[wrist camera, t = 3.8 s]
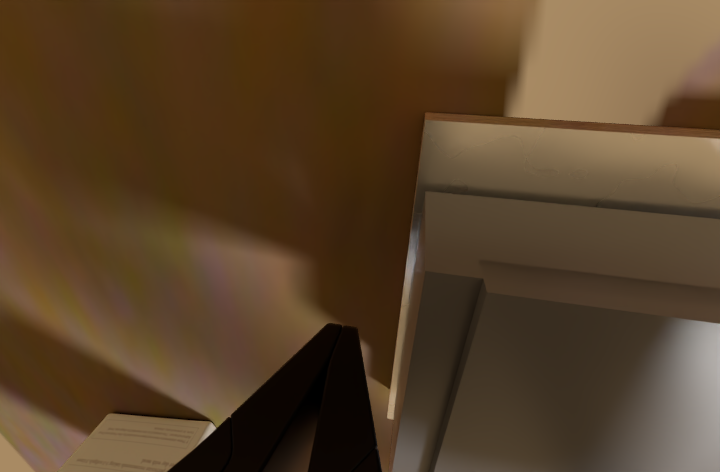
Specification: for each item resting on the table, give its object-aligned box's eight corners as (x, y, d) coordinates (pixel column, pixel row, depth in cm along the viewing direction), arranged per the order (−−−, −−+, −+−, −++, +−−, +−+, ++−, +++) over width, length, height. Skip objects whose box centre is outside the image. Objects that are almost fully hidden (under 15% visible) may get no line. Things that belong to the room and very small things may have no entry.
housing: (638, 449, 10) (727, 613, 7) (394, 403, 11) (383, 529, 8) (828, 229, 6) (1212, 390, 3) (425, 190, 7) (424, 284, 4)
